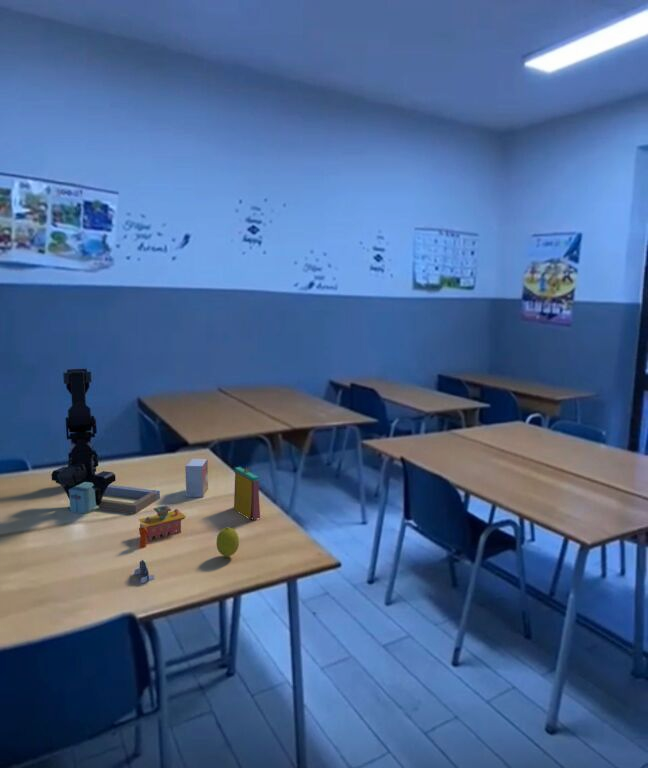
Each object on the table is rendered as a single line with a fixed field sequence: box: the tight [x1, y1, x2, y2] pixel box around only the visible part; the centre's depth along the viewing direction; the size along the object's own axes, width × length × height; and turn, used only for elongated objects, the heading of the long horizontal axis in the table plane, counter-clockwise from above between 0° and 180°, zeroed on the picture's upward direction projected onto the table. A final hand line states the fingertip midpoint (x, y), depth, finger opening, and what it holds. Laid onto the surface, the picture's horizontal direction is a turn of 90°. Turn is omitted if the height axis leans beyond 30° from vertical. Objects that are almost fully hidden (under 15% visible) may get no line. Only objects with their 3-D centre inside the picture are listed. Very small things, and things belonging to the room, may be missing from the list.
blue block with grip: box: [68, 482, 99, 514], centre depth 172 cm, size 5×8×7 cm, turn 164°
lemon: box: [216, 526, 240, 558], centre depth 142 cm, size 6×6×8 cm
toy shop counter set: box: [138, 466, 261, 549], centre depth 160 cm, size 12×35×14 cm, turn 127°
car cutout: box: [133, 559, 155, 584], centre depth 129 cm, size 15×7×4 cm, turn 36°
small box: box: [184, 458, 209, 498], centre depth 186 cm, size 8×6×10 cm
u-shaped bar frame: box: [98, 484, 161, 515], centre depth 178 cm, size 21×13×2 cm, turn 74°
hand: (85, 503), depth 173 cm, fingers open, 9 cm apart
